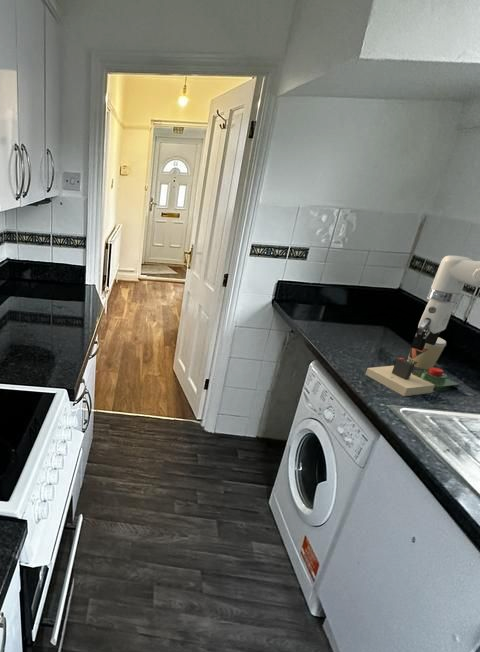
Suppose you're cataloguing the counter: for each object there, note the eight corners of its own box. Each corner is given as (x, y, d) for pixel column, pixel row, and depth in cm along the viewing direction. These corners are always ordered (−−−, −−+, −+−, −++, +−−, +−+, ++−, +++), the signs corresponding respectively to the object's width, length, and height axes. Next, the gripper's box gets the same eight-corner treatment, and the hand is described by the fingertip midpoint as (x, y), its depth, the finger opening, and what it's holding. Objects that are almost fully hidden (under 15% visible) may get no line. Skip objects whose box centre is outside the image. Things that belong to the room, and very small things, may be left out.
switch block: (456, 389, 140) (461, 379, 138) (437, 392, 137) (441, 381, 136) (425, 375, 149) (429, 365, 148) (406, 377, 147) (410, 367, 145)
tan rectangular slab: (431, 393, 136) (435, 384, 135) (404, 396, 133) (407, 387, 132) (390, 372, 150) (393, 365, 148) (364, 375, 146) (367, 367, 145)
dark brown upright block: (409, 379, 138) (415, 363, 136) (405, 379, 138) (411, 364, 135) (395, 372, 143) (401, 357, 140) (391, 372, 142) (397, 357, 140)
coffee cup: (398, 360, 160) (410, 332, 154) (424, 363, 159) (437, 335, 153) (411, 371, 151) (425, 342, 146) (439, 375, 150) (453, 345, 145)
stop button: (444, 376, 141) (446, 371, 140) (436, 376, 140) (438, 372, 139) (433, 371, 144) (435, 366, 143) (425, 372, 143) (427, 367, 142)
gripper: (446, 302, 122) (425, 355, 129) (467, 296, 131) (446, 345, 138) (418, 296, 128) (398, 346, 135) (439, 290, 137) (420, 338, 144)
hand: (422, 346), depth 136 cm, fingers open, 9 cm apart
